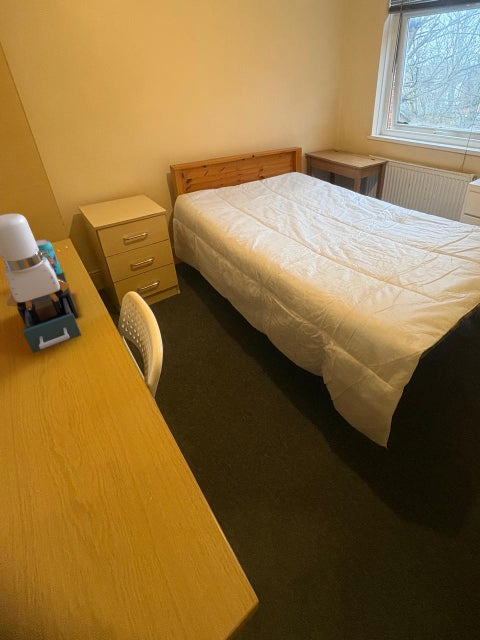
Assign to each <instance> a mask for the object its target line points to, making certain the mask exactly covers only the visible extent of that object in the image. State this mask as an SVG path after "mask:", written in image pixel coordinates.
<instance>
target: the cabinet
mask: <svg viewBox="0 0 480 640" xmlns="http://www.w3.org/2000/svg"><path fill="white" fill-rule="evenodd" d="M56 276H57V278H58V279H60V280H62V281H64V282H66V283H68V281H67V279H66V275H65V273H64V272H62V273H60V274H57V275H56ZM60 287H61V286H60ZM62 297H66V299H67V302H68V304H69V307H70V309H71V312H72V313H73V315H74V318H75V319H78V318H79V313H78V311H77V306H76V303H75V301H74V297H73V293H72V292H71V289H70V286H69V287H68V288H67V289H66V290H65V291H64V292H63V293H62V295H61V296H60V298H62ZM48 298H51V297H50V295H49V294H48V295H45V296H42V297H39V298H35V299H32V300H31V302H32V303H35V302H39V301H42V300H45V299H48ZM16 309H17V311H18V314H19V316H20V317H21V321H22V322H23V324H24V326H25V327H26V321H25V310H24V309H25V308H21V307H18V306H16Z"/></svg>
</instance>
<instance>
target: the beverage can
mask: <svg viewBox="0 0 480 640" xmlns="http://www.w3.org/2000/svg"><path fill="white" fill-rule="evenodd" d="M35 241H36V244H37V246H38V248H39V250H41V251H45V250H47V253H48V255H45V256H44V257H46V258H47V260H48V261H49V263H50V264H51V266H52V268H53V270H54V272H55V274H56V275H57V274H60V273H63V270H62V268H61V266H60V265H61V264H60V262H59V260H58V257H57V255H56V253H55V250H54V246H53V244H52V242H50V240H49V239H45V238H44V239H38V240H35Z"/></svg>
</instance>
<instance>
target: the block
mask: <svg viewBox="0 0 480 640" xmlns="http://www.w3.org/2000/svg"><path fill="white" fill-rule="evenodd" d="M34 304H35V310H36V313H37V315H38V317H39V319H40V321H42V320H45V319H48V318H51V317H53V316H56V315H57V312H56V310H55V308H54V306H53V303H52V298H48V299H45V300H42V301H39V302H35V303H34Z"/></svg>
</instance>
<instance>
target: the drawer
mask: <svg viewBox="0 0 480 640" xmlns="http://www.w3.org/2000/svg"><path fill="white" fill-rule="evenodd" d="M59 303H60V305H61V308H60V309H59V311H60V313H57V315H56V316H53V317H51V318H48V319H45V320H42V321H40V319H39V320H37V319H36V317H32V315H31V313H30V311H29V310H27V309H24V310H25V321H26V326H25V329H23V330H22V334H23V336H24V338H25V340H26V342H27V344H28V346H29V348H30V349H31V352H32V354H37V353H39V352H42V351H44V350H47V349H49V348H52V347H54V346H57V345H60V344H62V343H65V342H67V341H70V340H73V339H75V338H78V337H81V336H82V333H81V330H80V327H79V325H78V323H77V320H76V318H74V315H73V313H72V312H71V309H70V307H69V304H68V302H67V299H66V297H62V298H59Z"/></svg>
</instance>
